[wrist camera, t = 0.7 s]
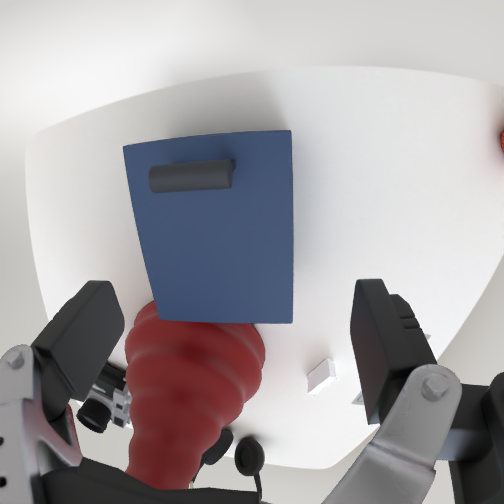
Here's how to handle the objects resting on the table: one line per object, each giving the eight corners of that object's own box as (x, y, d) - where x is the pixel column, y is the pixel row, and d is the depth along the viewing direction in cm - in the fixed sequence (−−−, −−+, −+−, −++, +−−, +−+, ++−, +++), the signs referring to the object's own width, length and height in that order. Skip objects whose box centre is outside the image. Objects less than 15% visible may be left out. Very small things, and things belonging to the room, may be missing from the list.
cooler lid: (126, 145, 22) (93, 157, 17) (290, 130, 20) (293, 136, 16) (162, 315, 29) (145, 349, 25) (292, 318, 28) (293, 357, 23)
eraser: (334, 360, 42) (336, 378, 39) (313, 377, 44) (314, 395, 41) (327, 357, 42) (329, 375, 38) (307, 374, 44) (307, 393, 40)
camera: (67, 388, 38) (120, 418, 39) (94, 350, 47) (143, 375, 48) (75, 428, 46) (117, 451, 47) (94, 395, 55) (134, 416, 56)
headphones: (212, 416, 52) (192, 509, 34) (277, 439, 54) (271, 524, 36) (195, 431, 55) (175, 512, 38) (255, 451, 58) (246, 529, 40)
